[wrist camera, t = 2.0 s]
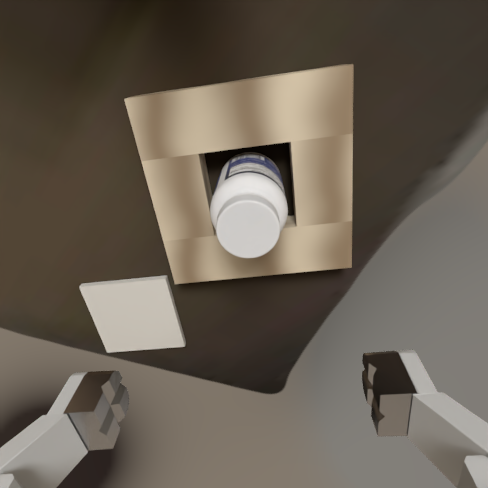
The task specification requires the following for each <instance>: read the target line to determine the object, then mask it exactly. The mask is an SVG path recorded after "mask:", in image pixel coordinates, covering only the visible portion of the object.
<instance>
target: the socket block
mask: <svg viewBox="0 0 488 488" xmlns="http://www.w3.org/2000/svg"><path fill="white" fill-rule="evenodd" d="M124 100H125V104H126V107H127V111H128V115H129V118H130V122H131V126H132V129H133V133H134V136H135V140H136V144H137V147H138V151H139V155H140V158H141V162H142V166H143V169H144V173H145V176H146V180H147V184H148V187H149V191H150V195H151V198H152V202H153V206H154V209H155V213H156V216H157V220H158V224H159V227H160V231H161V235H162V238H163V242H164V246H165V249H166V253H167V257H168V260H169V264H170V267H171V271H172V275H173V278H174V282H175V284H182V283H193V282H203V281H214V280H225V279H235V278H246V277H256V276H267V275H277V274H288V273H299V272H309V271H320V270H330V269H341V268H352V163H353V65H349V64H344V65H337V66H331V67H324V68H317V69H310V70H304V71H297V72H290V73H284V74H277V75H270V76H264V77H257V78H250V79H244V80H237V81H230V82H224V83H217V84H210V85H204V86H197V87H190V88H184V89H177V90H170V91H164V92H157V93H150V94H144V95H137V96H133V97H129V98H126V99H124ZM285 142H289V153H290V166H291V179H292V193H293V206H294V215H291V216H287V220H286V223H285V226H284V228H283V229H282V231H281V232H280V235H279V238H278V241H277V243H276V244H275V246H274V247H273V248H272V249H271V250H270V251H269V252H267V253H266V254H264V255H262V256H259V257H256V258H241V257H237V256H235V255H232V254H231V253H229V252H228V251H226V250H225V249H224V248H223V247H222V245H221V244H220V242H219V240H218V238H217V234H216V230H215V228H214V226H213V224H212V221H211V216H210V205H211V200H212V192H211V187H210V181H209V176H208V171H207V165H206V160H205V155H204V153H208V152H216V151H224V150H231V149H239V148H247V147H254V146H262V145H270V144H277V143H285Z"/></svg>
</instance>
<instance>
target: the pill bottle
mask: <svg viewBox="0 0 488 488" xmlns="http://www.w3.org/2000/svg"><path fill="white" fill-rule="evenodd" d="M287 215H288V206H287V201H286V196H285V191H284V187H283V182H282V178H281V174H280V172H279V169H278V168H277V166H276V165H275V163H274V162H273V161H272V160H271V159H269V158H268V157H267V156H265V155H263V154H260V153H256V152H244V153H240V154H238V155H236V156H234V157H232V158H231V159H230V160H229V161H228V162H227V163H226V164H225V165H224V167H223V168H222V170H221V172H220V175H219V178H218V181H217V184H216V188H215V191H214V194H213V197H212V200H211V205H210V216H211V221H212V224H213V226H214V228H215V230H216V234H217V238H218V240H219V242H220V244H221V245H222V247H223V248H224V249H225V250H226V251H228V252H229V253H231V254H232V255H235V256H237V257H241V258H256V257H259V256H262V255H264V254H266V253H267V252H269V251H270V250H271V249H272V248H273V247H274V246H275V244H276V243H277V241H278V238H279V235H280V232H281V231H282V229H283V228H284V226H285V223H286V220H287Z"/></svg>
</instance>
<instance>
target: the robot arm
mask: <svg viewBox="0 0 488 488" xmlns="http://www.w3.org/2000/svg"><path fill="white" fill-rule="evenodd" d="M363 365H364V368H365V370H364V371H363V372H362V381H363V389H364V393H365V397H366V401H367V403H368V404H369V405H370V406H371V407H372V411H371V417H372V420H373V422H374V426H375V429H376V432H377V435H378V436H408V438H409V439H410V440H411V442H413V444H414V445H415V446H416V447H417V448H418V449H419V450H420V451H421V452H422V453H423V454H424V455H425V456H426V457H427V458H428V459H429V460H430V461H431V462H432V463H433V464H434V465H435V466H436V467H437V468H438V469H439V470H440V471H441V472H442V473H443V474H444V475H445V476H446V477H447V478H448V479H449V480H450V481H451V482H452V483H453V484H454V485H455V486H456V487H457V488H488V424H487V423H486V422H485V421H483V420H482V419H480V418H479V417H477V416H476V415H475V414H473V413H472V412H470V411H469V410H467V409H466V408H465V407H463V406H462V405H460V404H459V403H457V402H456V401H454V400H453V399H452V398H450V397H449V396H447V395H446V394H444V393H438V392H437V390H436V388H435V386H434V385H433V383H432V381H431V379H430V377H429V375H428V374H427V372H426V370H425V368H424V366H423V364H422V363H421V361H420V359H419V357H418V355H417V354H416V352H415V351H414V350H399V351H386V352H373V353H364V354H363ZM121 380H122V377H121V375H120V373H119V371H98V372H80V373H74V374H73V375H71V376H70V378H69V379H68V381H67V383H66V384H65V386H64V388H63V389H62V391H61V393H60V394H59V396H58V397H57V399H56V401H55V402H54V404H53V406H52V407H51V409H50V411H49V412H48V414H47V415H42V416H41V417H40V418H38V419H37V420H36V421H35V422H33V423H32V424H31V425H29V426H28V427H27V428H26V429H24V430H23V431H22V432H21V433H19V434H18V435H17V436H15V437H14V438H13V439H12V440H10V441H9V442H8V443H6V444H5V445H4V446H2V447H1V448H0V488H56V487H57V486H58V485H59V484H60V483H61V482H62V481H63V479H64V478H65V477H66V476H67V475H68V474H69V473H70V472H71V470H72V469H73V468H74V467H75V466H76V465H77V463H79V462H80V460H81V459H82V458H83V457H84V456H85V455H86V454H87V453H88V451H87V450H100V449H112V448H113V447H114V444H115V442H116V439H117V437H118V434H119V431H120V426H119V424H118V423H119V422H120V421H121V420H122V419H123V418H124V417H125V415H126V413H127V410H128V405H129V394H128V391H127V388H126V387H125V386H124V385H122V384H121V383H120V382H121Z"/></svg>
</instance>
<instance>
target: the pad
mask: <svg viewBox="0 0 488 488" xmlns="http://www.w3.org/2000/svg"><path fill="white" fill-rule="evenodd" d="M79 288H80V290H81V293H82V295H83V297H84V300H85V302H86V304H87V307H88V309H89V311H90V314H91V316H92V318H93V321H94V323H95V325H96V327H97V330H98V332H99V334H100V337H101V339H102V341H103V344H104V346H105V348H106V351H107V353H109V352H122V351H136V350H149V349H162V348H175V347H185V345H186V341H185V337H184V334H183V330H182V327H181V323H180V320H179V316H178V313H177V309H176V305H175V302H174V298H173V295H172V291H171V288H170V284H169V281H168V277H167V275H166V276H156V277H146V278H135V279H125V280H115V281H104V282H94V283H84V284H81V285H80V287H79Z"/></svg>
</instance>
